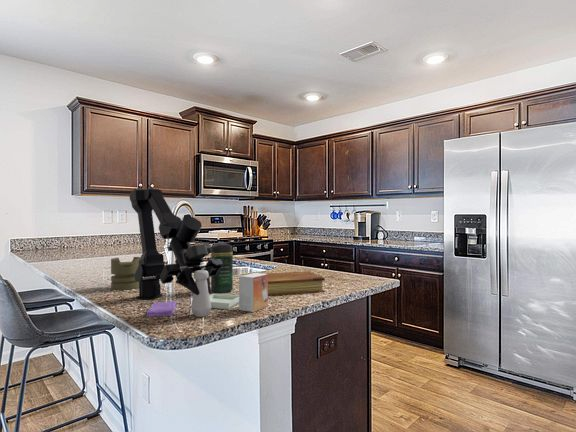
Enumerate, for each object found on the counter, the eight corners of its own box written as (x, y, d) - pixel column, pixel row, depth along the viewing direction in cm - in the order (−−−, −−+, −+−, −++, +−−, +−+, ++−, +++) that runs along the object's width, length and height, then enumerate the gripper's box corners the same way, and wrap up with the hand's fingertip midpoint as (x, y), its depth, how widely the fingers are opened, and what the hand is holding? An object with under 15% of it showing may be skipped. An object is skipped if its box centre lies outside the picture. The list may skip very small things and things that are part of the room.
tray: (195, 306, 115) (195, 301, 115) (213, 298, 126) (213, 293, 126) (228, 309, 112) (228, 303, 112) (243, 300, 123) (243, 295, 123)
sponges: (146, 318, 104) (146, 311, 104) (154, 307, 117) (154, 301, 117) (171, 316, 106) (171, 310, 106) (176, 306, 118) (176, 300, 118)
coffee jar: (235, 292, 137) (234, 243, 137) (214, 294, 134) (213, 243, 134) (229, 287, 146) (229, 241, 146) (209, 289, 143) (209, 242, 143)
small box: (253, 312, 108) (252, 277, 108) (238, 310, 111) (238, 275, 111) (268, 306, 114) (268, 273, 114) (254, 304, 117) (254, 272, 117)
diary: (308, 284, 155) (308, 271, 155) (324, 293, 137) (324, 278, 137) (255, 287, 149) (255, 273, 149) (264, 296, 131) (264, 280, 131)
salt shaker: (193, 319, 102) (193, 272, 101) (189, 314, 107) (188, 270, 107) (214, 316, 104) (213, 271, 104) (208, 311, 109) (208, 268, 109)
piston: (142, 259, 144) (110, 260, 139) (142, 289, 144) (110, 292, 139) (140, 256, 154) (111, 257, 149) (141, 284, 154) (111, 286, 149)
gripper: (164, 236, 101) (184, 280, 94) (219, 233, 115) (241, 271, 107) (151, 261, 107) (170, 305, 99) (206, 256, 120) (226, 294, 113)
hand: (203, 293), depth 104 cm, fingers closed on salt shaker, 3 cm apart
